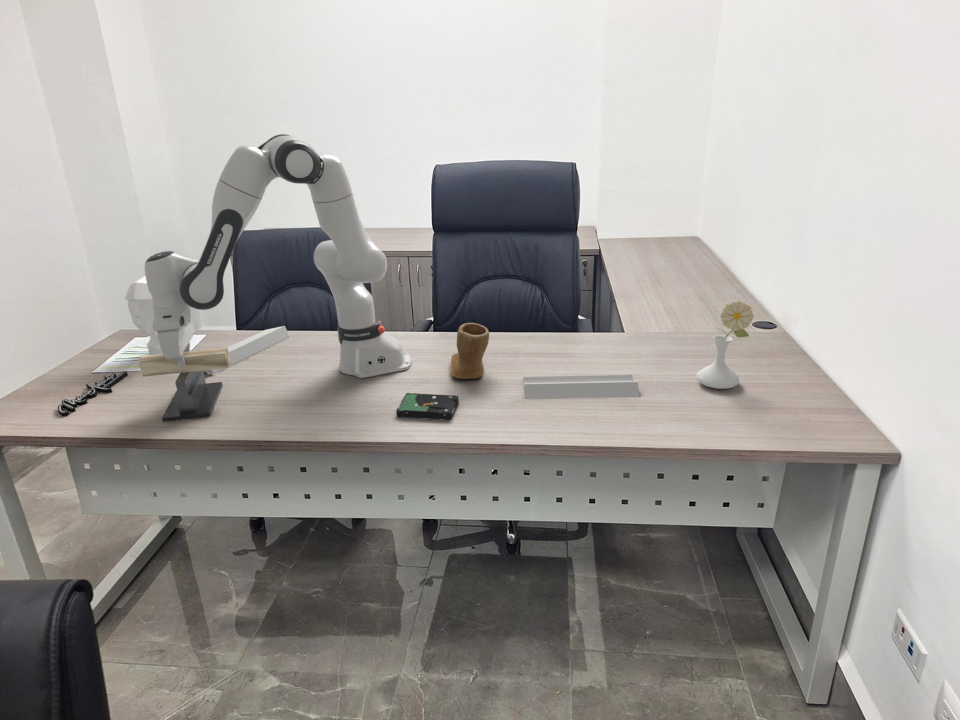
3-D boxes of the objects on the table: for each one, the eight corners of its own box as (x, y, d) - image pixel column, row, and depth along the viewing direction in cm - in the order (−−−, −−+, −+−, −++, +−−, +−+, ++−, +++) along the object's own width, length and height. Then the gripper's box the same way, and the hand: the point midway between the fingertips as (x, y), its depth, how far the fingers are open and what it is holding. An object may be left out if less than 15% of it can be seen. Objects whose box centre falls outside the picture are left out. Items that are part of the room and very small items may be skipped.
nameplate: (78, 413, 171) (43, 413, 172) (80, 418, 172) (45, 418, 172) (134, 371, 196) (103, 371, 197) (135, 375, 197) (105, 375, 198)
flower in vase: (688, 385, 177) (697, 300, 168) (706, 372, 185) (716, 290, 175) (734, 398, 169) (747, 309, 159) (751, 384, 177) (764, 298, 167)
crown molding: (630, 380, 183) (631, 369, 181) (639, 399, 172) (640, 387, 170) (523, 382, 184) (523, 371, 182) (524, 401, 173) (524, 389, 171)
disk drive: (459, 404, 173) (406, 401, 175) (458, 395, 172) (405, 392, 174) (451, 422, 163) (396, 419, 166) (451, 412, 162) (395, 409, 164)
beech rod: (146, 370, 173) (142, 355, 171) (230, 362, 177) (227, 347, 175) (142, 376, 169) (138, 361, 168) (228, 368, 173) (225, 353, 172)
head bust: (125, 366, 203) (102, 282, 192) (160, 344, 220) (141, 266, 209) (170, 368, 201) (149, 283, 190) (202, 345, 218) (184, 266, 207)
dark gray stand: (222, 385, 187) (215, 353, 183) (210, 416, 169) (202, 382, 165) (179, 390, 185) (172, 358, 181) (162, 422, 167) (153, 387, 163)
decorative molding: (194, 379, 199) (214, 376, 194) (187, 365, 198) (208, 361, 193) (270, 342, 227) (289, 338, 222) (265, 329, 226) (284, 325, 221)
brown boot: (490, 381, 184) (489, 333, 178) (449, 382, 184) (447, 334, 178) (489, 360, 198) (488, 315, 192) (451, 362, 198) (449, 316, 192)
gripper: (170, 303, 176) (181, 349, 181) (150, 327, 157) (163, 378, 163) (194, 300, 177) (204, 346, 182) (177, 325, 158) (189, 375, 164)
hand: (184, 361), depth 172 cm, fingers open, 5 cm apart
